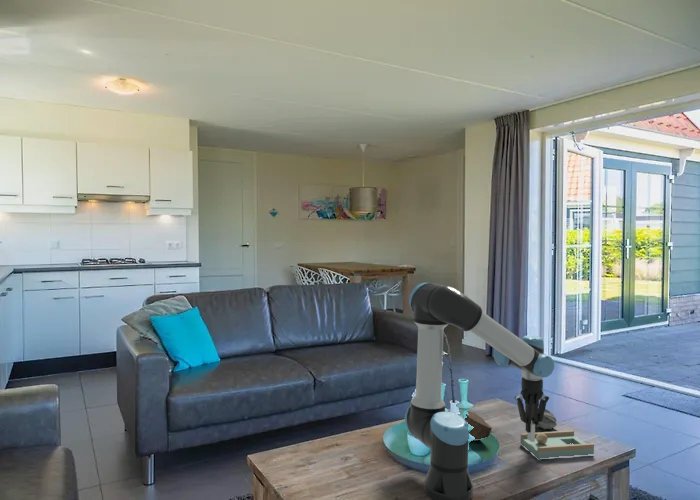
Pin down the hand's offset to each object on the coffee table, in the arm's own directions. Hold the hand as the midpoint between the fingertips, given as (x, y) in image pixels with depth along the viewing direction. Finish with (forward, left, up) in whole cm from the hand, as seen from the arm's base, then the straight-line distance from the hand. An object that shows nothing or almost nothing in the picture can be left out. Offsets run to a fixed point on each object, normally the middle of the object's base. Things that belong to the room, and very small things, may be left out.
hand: (531, 440), depth 185 cm
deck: (+10, 0, -5) cm, 11 cm away
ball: (+4, 0, 0) cm, 4 cm away
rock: (-17, +14, -5) cm, 22 cm away
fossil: (+17, +21, -5) cm, 28 cm away
